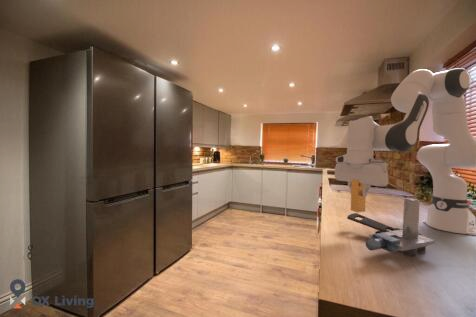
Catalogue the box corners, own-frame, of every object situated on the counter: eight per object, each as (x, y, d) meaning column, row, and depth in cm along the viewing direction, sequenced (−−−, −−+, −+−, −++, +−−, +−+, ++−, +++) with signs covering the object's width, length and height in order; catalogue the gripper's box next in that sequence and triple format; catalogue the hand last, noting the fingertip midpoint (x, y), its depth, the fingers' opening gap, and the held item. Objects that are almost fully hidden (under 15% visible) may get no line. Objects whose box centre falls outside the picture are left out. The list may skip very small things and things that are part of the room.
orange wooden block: (358, 209, 85) (359, 179, 85) (365, 211, 82) (366, 180, 82) (350, 210, 83) (351, 179, 83) (357, 212, 81) (358, 180, 80)
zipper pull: (355, 212, 95) (429, 229, 75) (354, 226, 96) (428, 247, 76) (344, 216, 90) (421, 235, 70) (344, 231, 90) (420, 255, 70)
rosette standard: (400, 246, 78) (403, 196, 77) (434, 258, 68) (437, 202, 68) (354, 255, 69) (356, 199, 68) (386, 271, 60) (389, 206, 59)
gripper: (393, 159, 74) (392, 200, 74) (343, 158, 93) (342, 190, 93) (381, 159, 72) (379, 201, 72) (332, 158, 91) (331, 190, 91)
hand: (358, 194), depth 83 cm, fingers closed on orange wooden block, 3 cm apart
